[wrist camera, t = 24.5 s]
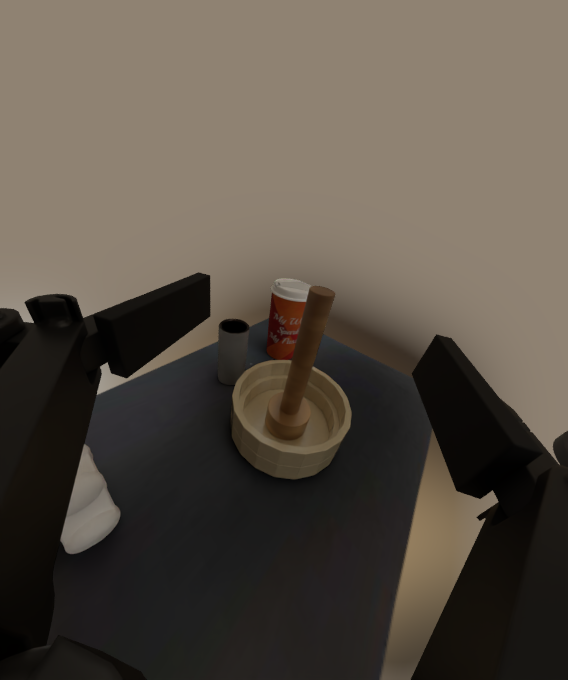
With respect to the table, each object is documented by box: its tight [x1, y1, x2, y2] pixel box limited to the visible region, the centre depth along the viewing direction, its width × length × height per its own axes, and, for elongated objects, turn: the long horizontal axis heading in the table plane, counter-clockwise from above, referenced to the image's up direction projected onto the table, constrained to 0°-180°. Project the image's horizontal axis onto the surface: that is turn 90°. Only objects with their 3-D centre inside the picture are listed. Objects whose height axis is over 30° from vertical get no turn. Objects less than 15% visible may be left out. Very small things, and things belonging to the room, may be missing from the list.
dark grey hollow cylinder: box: [218, 319, 249, 385], centre depth 37 cm, size 4×4×10 cm
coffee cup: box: [267, 278, 312, 360], centre depth 44 cm, size 8×8×15 cm
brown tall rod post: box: [265, 286, 335, 440], centre depth 27 cm, size 6×6×20 cm
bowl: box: [230, 360, 352, 479], centre depth 31 cm, size 16×16×6 cm
